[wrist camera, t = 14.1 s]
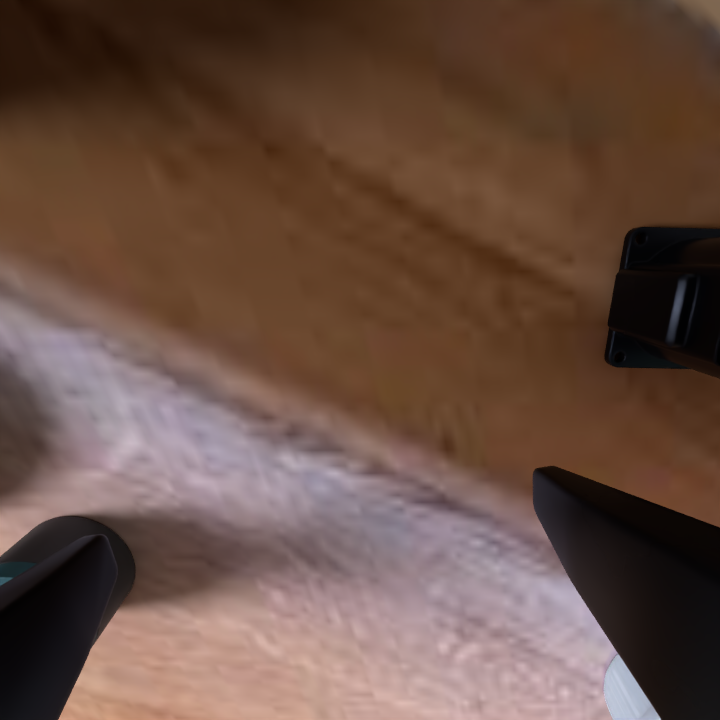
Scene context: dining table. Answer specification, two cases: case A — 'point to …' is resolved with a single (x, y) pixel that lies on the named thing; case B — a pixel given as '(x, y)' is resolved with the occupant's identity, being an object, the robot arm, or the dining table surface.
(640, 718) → the ramekin
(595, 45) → the dining table surface
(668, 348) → the robot arm
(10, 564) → the teal peg stand
